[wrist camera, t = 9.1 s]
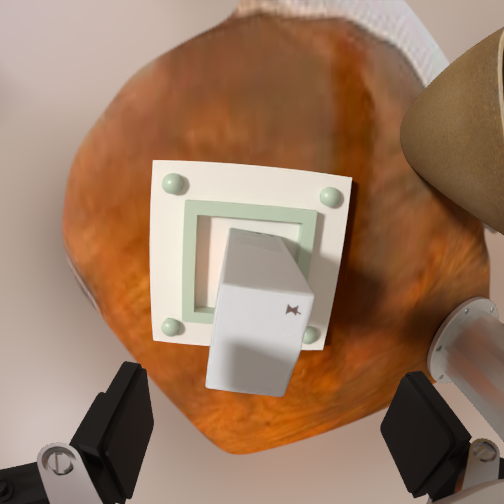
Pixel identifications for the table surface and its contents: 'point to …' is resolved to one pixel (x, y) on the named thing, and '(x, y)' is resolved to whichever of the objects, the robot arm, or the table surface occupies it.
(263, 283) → the skincare box
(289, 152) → the table surface
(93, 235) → the table surface
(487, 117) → the plant pot
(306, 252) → the baseplate
